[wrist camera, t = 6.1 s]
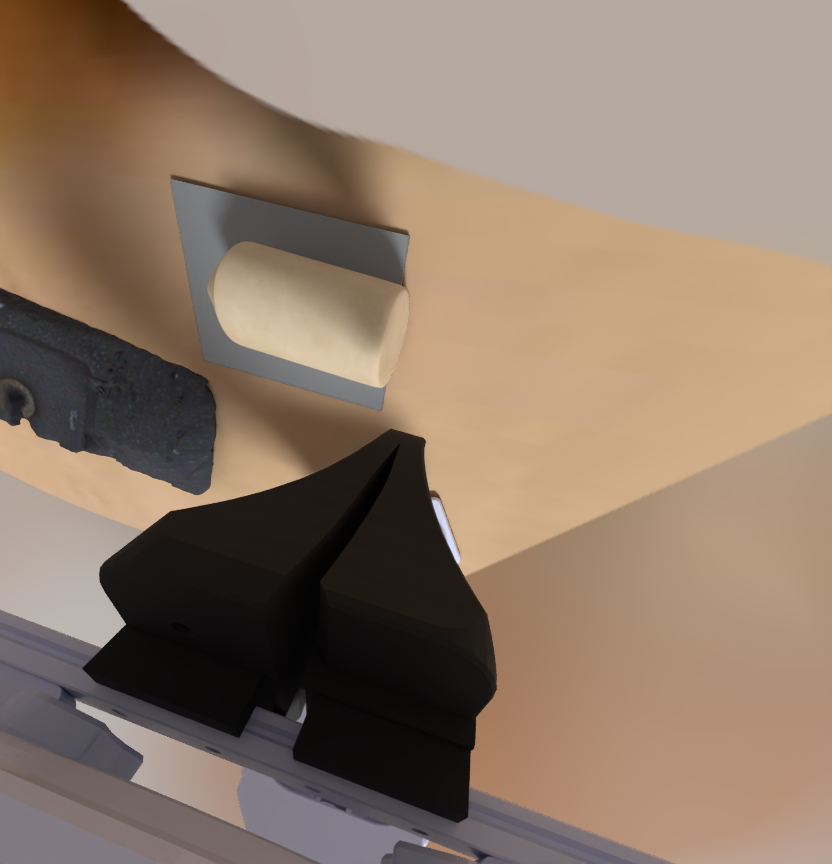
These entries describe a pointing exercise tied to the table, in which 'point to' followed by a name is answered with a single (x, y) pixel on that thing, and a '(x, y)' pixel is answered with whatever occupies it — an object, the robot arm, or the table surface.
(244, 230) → the slate mat
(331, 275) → the candle
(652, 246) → the table surface
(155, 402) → the dark slate chunk
